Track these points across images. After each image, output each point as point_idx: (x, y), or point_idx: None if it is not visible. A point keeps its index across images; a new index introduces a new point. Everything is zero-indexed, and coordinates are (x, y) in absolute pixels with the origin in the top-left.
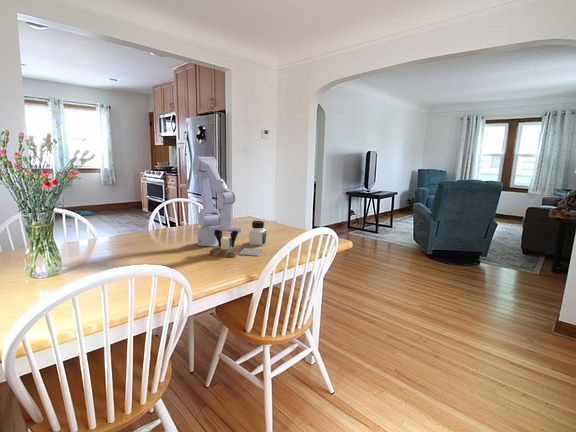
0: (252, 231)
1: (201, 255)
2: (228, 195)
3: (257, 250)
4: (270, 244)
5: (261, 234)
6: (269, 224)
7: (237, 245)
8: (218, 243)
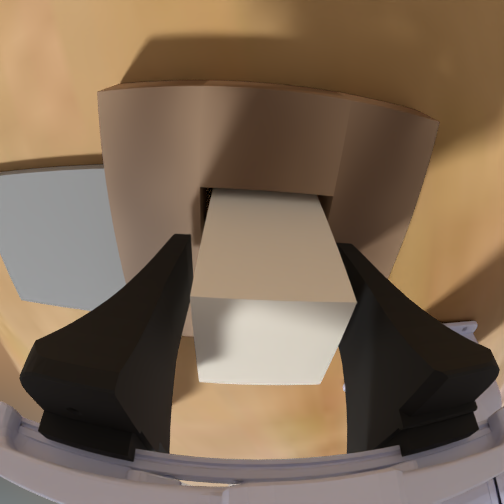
0: None
1: (477, 116)
2: None
3: (27, 278)
4: None
5: None
6: (190, 484)
7: None
8: (371, 263)
